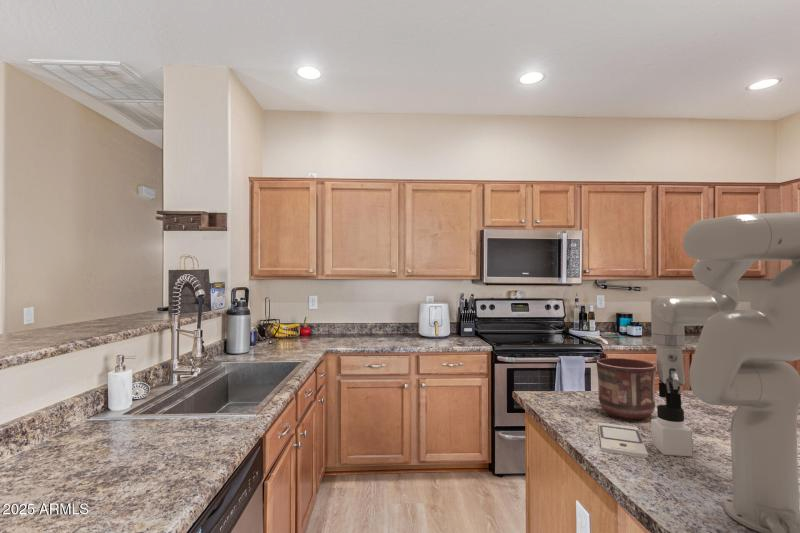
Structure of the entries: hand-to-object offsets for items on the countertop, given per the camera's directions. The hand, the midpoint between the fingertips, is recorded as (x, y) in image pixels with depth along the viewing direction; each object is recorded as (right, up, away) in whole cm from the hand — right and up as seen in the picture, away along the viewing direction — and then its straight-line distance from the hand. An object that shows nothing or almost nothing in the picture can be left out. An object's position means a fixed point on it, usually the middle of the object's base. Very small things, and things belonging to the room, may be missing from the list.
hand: (669, 402), depth 107 cm
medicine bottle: (0, -13, -1) cm, 13 cm away
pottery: (+4, -14, +26) cm, 30 cm away
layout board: (-10, -13, +6) cm, 18 cm away
